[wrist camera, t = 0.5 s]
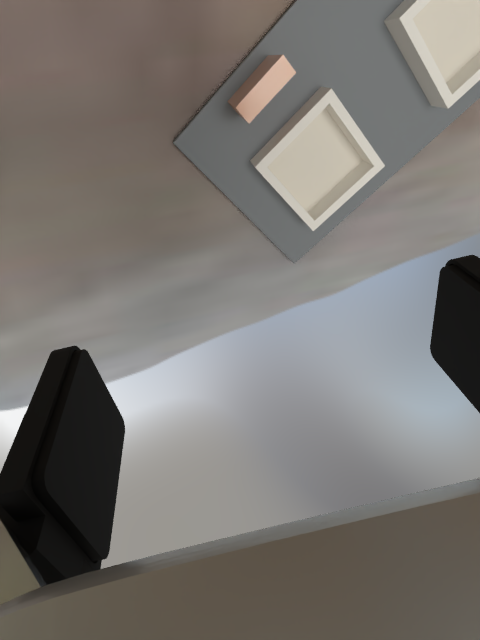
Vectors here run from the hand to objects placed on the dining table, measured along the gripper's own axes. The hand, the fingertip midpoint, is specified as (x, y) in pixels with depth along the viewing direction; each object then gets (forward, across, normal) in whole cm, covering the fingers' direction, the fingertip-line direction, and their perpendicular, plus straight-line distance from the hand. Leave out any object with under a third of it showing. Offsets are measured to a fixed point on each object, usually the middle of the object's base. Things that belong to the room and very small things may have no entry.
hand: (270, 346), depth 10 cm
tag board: (+28, -14, -2) cm, 32 cm away
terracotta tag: (+27, -5, -4) cm, 28 cm away
